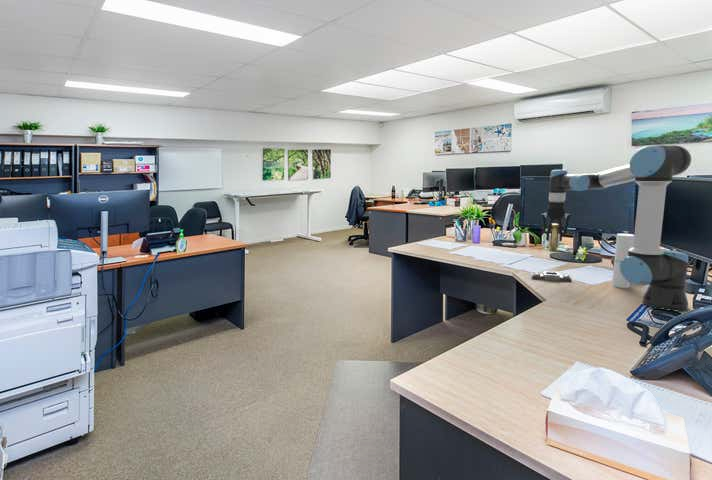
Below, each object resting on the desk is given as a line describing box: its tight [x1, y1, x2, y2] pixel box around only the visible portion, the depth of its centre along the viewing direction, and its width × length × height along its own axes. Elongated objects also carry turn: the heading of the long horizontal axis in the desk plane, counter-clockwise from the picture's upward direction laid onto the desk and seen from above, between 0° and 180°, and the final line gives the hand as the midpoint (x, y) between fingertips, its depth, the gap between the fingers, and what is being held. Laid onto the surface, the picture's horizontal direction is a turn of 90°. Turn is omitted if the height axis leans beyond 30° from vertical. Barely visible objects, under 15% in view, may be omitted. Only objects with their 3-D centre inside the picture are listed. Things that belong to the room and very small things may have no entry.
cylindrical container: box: [611, 233, 634, 289], centre depth 197 cm, size 7×7×25 cm
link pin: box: [549, 223, 559, 253], centre depth 209 cm, size 4×4×14 cm
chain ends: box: [531, 270, 572, 283], centre depth 213 cm, size 18×7×3 cm, turn 70°
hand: (553, 247), depth 210 cm, fingers closed on link pin, 3 cm apart
